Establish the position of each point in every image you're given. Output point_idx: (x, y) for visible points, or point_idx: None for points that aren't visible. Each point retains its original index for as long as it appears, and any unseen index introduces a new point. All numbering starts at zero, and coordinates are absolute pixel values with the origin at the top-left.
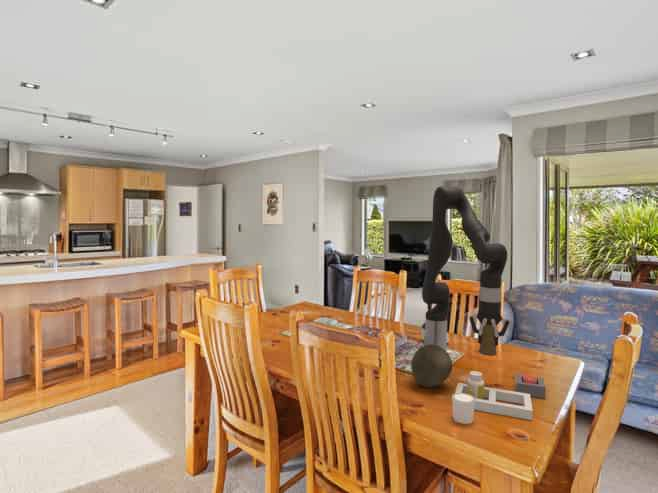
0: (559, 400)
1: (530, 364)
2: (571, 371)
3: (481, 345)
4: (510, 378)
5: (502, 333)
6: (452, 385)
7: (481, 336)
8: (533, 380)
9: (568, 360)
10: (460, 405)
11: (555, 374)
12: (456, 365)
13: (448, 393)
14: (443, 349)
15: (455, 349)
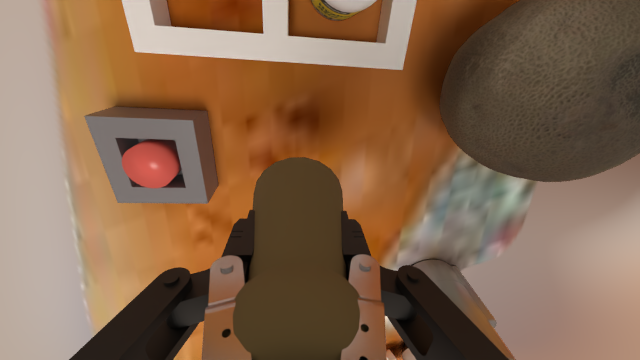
0: (70, 111)
1: None
2: (97, 307)
3: (337, 202)
4: (235, 219)
5: (166, 289)
6: (403, 108)
7: (349, 249)
8: (130, 148)
9: None
10: None
11: (129, 280)
12: (376, 249)
13: (425, 31)
14: (558, 116)
15: None
